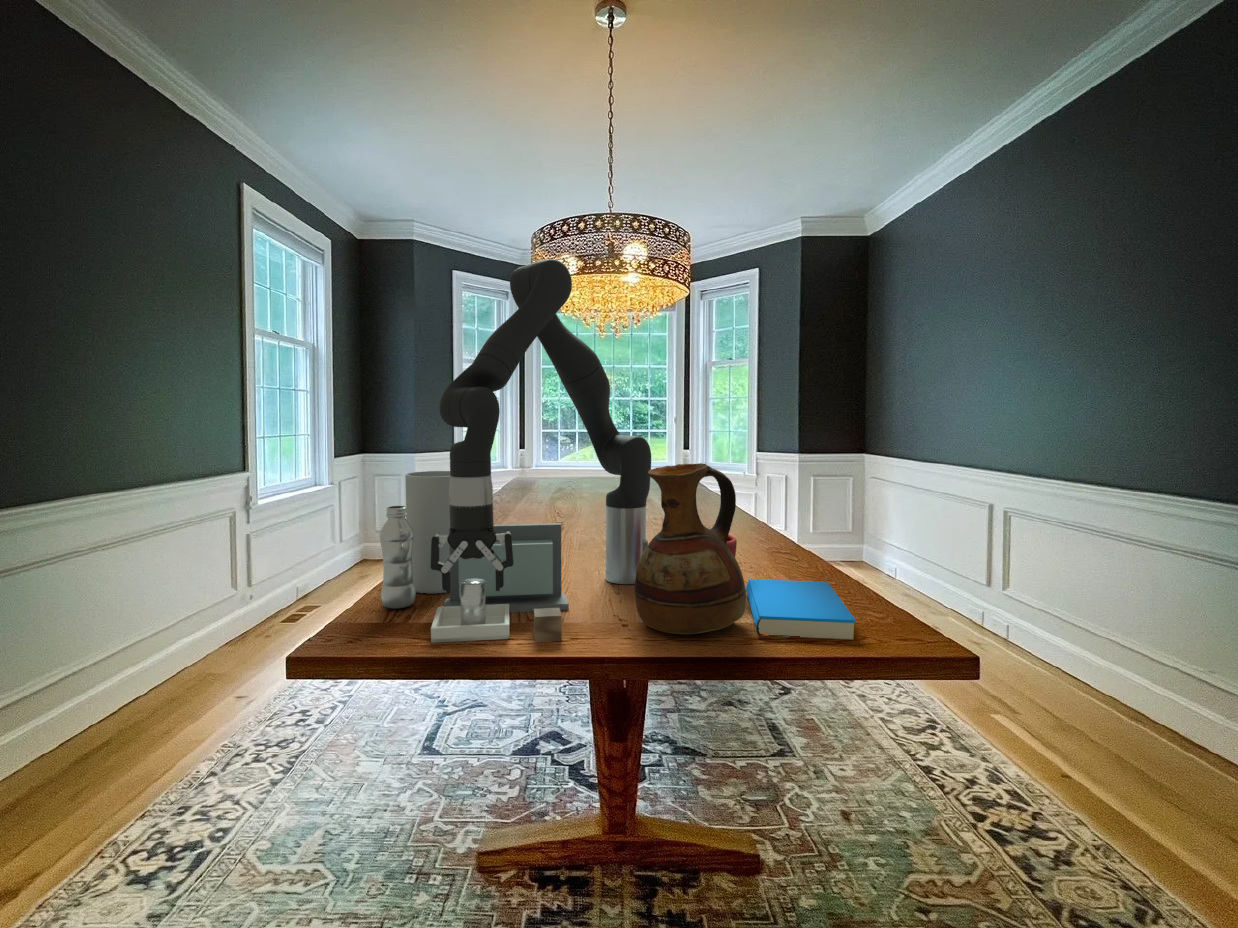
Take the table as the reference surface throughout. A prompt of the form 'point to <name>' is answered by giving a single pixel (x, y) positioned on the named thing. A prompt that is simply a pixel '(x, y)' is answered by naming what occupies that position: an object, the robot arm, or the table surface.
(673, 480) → the ceramic pitcher
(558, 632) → the walnut block
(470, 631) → the tray
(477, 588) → the steel cylinder
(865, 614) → the table surface
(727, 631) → the table surface
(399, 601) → the plastic bottle
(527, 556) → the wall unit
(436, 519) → the cylinder vase
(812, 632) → the book
